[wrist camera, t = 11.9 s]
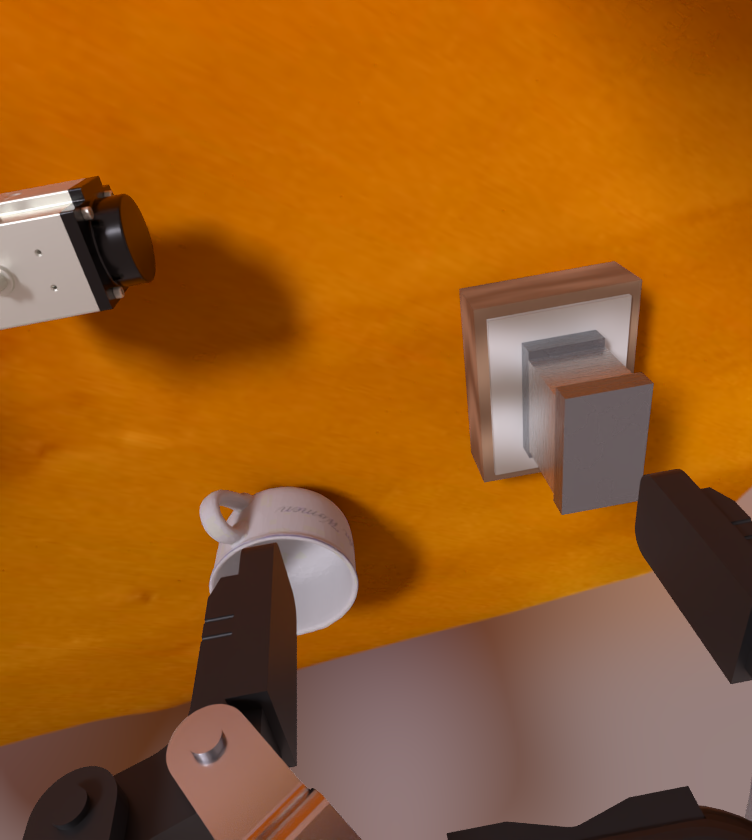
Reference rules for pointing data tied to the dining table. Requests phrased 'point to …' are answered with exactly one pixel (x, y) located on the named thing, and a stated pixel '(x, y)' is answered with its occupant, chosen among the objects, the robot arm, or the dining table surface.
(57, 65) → the dining table surface
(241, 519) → the teacup
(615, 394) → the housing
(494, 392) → the stand
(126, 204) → the pneumatic valve
